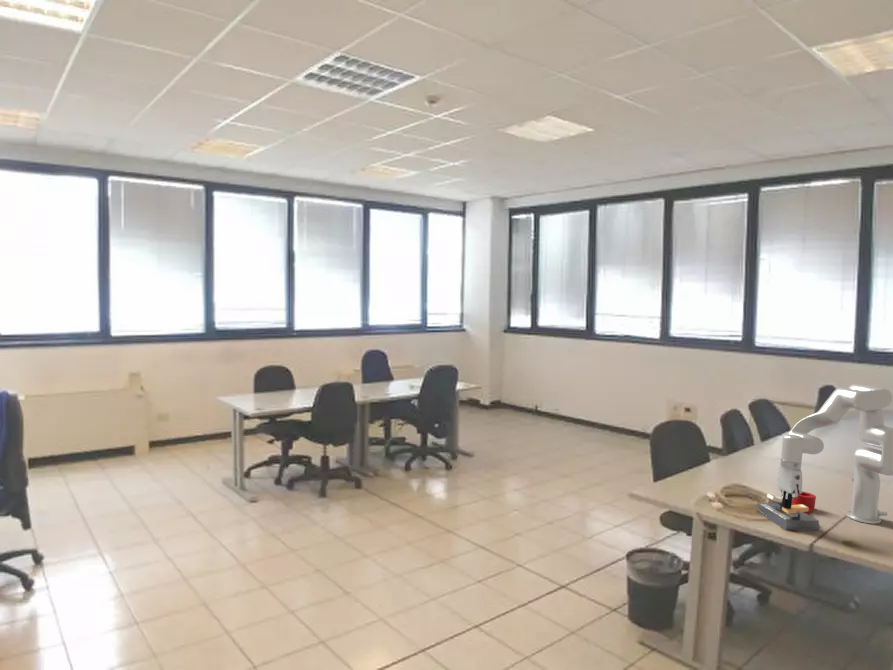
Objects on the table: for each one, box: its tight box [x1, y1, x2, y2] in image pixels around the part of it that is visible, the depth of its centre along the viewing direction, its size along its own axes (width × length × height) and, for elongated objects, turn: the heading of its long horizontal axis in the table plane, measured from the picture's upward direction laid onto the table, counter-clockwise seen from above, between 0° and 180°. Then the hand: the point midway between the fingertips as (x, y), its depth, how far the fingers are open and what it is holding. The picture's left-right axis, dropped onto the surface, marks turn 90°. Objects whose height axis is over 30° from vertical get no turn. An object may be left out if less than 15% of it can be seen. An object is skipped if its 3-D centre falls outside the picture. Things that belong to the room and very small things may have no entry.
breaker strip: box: [756, 500, 820, 531], centre depth 258 cm, size 14×20×6 cm
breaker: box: [766, 493, 783, 504], centre depth 264 cm, size 9×5×2 cm, turn 96°
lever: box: [792, 490, 817, 515], centre depth 271 cm, size 18×9×7 cm, turn 143°
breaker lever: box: [782, 504, 809, 514], centre depth 253 cm, size 9×5×2 cm, turn 95°
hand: (786, 507), depth 252 cm, fingers closed
